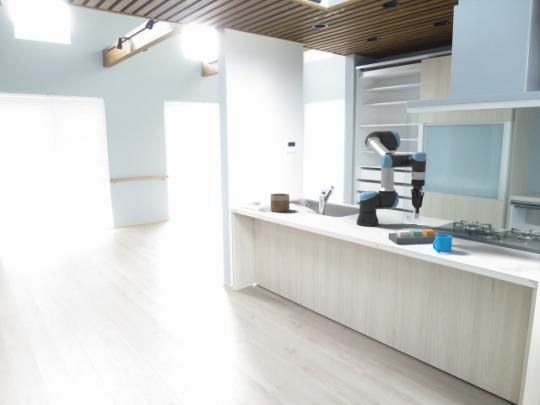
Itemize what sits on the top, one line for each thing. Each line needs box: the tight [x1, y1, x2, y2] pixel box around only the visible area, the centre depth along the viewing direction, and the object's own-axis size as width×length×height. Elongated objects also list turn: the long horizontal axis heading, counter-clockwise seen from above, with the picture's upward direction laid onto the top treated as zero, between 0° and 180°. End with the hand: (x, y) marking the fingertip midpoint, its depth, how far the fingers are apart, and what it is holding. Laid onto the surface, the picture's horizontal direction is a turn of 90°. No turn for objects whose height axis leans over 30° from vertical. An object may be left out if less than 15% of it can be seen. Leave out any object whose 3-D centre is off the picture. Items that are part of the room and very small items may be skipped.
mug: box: [432, 233, 453, 253], centre depth 214 cm, size 12×8×8 cm
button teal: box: [409, 229, 422, 236], centre depth 236 cm, size 5×5×4 cm
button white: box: [396, 229, 409, 237], centre depth 235 cm, size 5×5×4 cm
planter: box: [270, 192, 290, 213], centre depth 336 cm, size 16×16×14 cm
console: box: [388, 231, 438, 245], centre depth 236 cm, size 12×28×4 cm, turn 95°
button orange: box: [422, 228, 435, 236], centre depth 236 cm, size 5×5×4 cm
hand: (416, 218), depth 236 cm, fingers closed
